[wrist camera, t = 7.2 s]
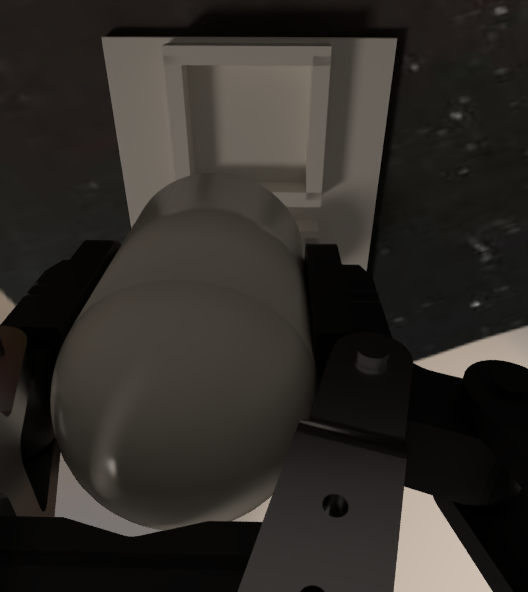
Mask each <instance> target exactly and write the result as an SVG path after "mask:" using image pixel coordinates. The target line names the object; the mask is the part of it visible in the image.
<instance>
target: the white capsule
mask: <svg viewBox="0 0 528 592" xmlns="http://www.w3.org/2000/svg"><path fill="white" fill-rule="evenodd" d="M317 392H318V383H317V370H316V365H315V359H314V350H313V341H312V331H311V322H310V312H309V303H308V294H307V284H306V275H305V265H304V253H303V245H302V239H301V235H300V232H299V229H298V226H297V224H296V222H295V220H294V218H293V216H292V215H291V213H290V212H289V210H288V209H287V207H286V206H285V205H284V204H283V203H282V202H281V201H280V199H278V198H277V197H276V196H275V195H274V194H273V193H271V192H270V191H269V190H267V189H266V188H264V187H263V186H261V185H259V184H257V183H255V182H253V181H251V180H249V179H246V178H243V177H240V176H236V175H231V174H226V173H201V174H195V175H190V176H187V177H184V178H181V179H178V180H176V181H174V182H172V183H170V184H168V185H167V186H165V187H164V188H163V189H161V190H160V191H158V192H157V193H156V194H155V195H154V196H153V197H152V198H151V199H150V201H149V202H148V203H147V204H146V206H145V207H144V209H143V210H142V212H141V214H140V215H139V217H138V218H137V220H136V222H135V223H134V225H133V227H132V228H131V230H130V232H129V233H128V235H127V237H126V238H125V240H124V242H123V243H122V245H121V247H120V248H119V250H118V252H117V253H116V255H115V256H114V258H113V260H112V261H111V263H110V265H109V266H108V268H107V270H106V271H105V273H104V275H103V276H102V278H101V280H100V281H99V283H98V285H97V286H96V288H95V290H94V291H93V293H92V294H91V296H90V298H89V299H88V301H87V303H86V304H85V306H84V308H83V309H82V311H81V313H80V314H79V316H78V318H77V319H76V321H75V323H74V324H73V326H72V328H71V329H70V331H69V333H68V335H67V337H66V339H65V341H64V343H63V345H62V347H61V349H60V352H59V355H58V358H57V361H56V365H55V368H54V372H53V378H52V385H51V399H50V402H51V416H52V424H53V429H54V433H55V437H56V440H57V443H58V446H59V449H60V451H61V453H62V456H63V458H64V461H65V462H66V464H67V465H68V467H69V469H70V470H71V472H72V474H73V475H74V476H75V478H76V480H77V481H78V482H79V484H80V485H81V486H82V487H83V488H84V489H85V490H86V491H87V492H88V493H89V494H90V495H91V496H92V497H93V498H94V499H95V500H96V501H97V502H98V503H100V504H101V505H102V506H104V507H105V508H106V509H108V510H109V511H111V512H113V513H114V514H116V515H118V516H120V517H122V518H124V519H126V520H128V521H130V522H133V523H136V524H138V525H142V526H145V527H149V528H153V529H157V530H169V529H174V528H178V527H183V526H187V525H192V524H197V523H201V522H206V521H233V520H235V519H237V518H239V517H241V516H243V515H245V514H247V513H249V512H251V511H252V510H254V509H255V508H256V507H258V506H259V505H261V504H262V503H263V502H265V501H266V500H267V499H269V498H270V497H271V496H272V495H273V492H274V489H275V487H276V484H277V481H278V478H279V476H280V473H281V470H282V467H283V464H284V462H285V459H286V456H287V453H288V451H289V448H290V445H291V442H292V439H293V437H294V434H295V431H296V429H297V426H298V424H299V422H300V420H301V419H302V418H305V419H308V418H309V415H310V412H311V409H312V406H313V404H314V401H315V398H316V395H317Z"/></svg>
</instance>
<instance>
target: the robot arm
mask: <svg viewBox="0 0 528 592" xmlns="http://www.w3.org/2000/svg"><path fill="white" fill-rule="evenodd" d="M120 247H121V244H120V242H119V241H113V240H86V241H84V242H83V243H82V245H81V246H80V247H79V249H78V250H77V251H76V252H75V254H74V255H73V256H72V258H71V259H70V260H63V261H61V262H59V263H58V264H56V265H54V266H53V267H51V268H49V269H48V270H46V271H45V272H44V273H43V274H42V275H41V277H40V278H39V279H38V280H37V281H36V283H35V286H32V287H31V289H30V290H29V291H28V292H27V293H26V296H24V297H23V298H22V300H21V301H20V302H19V303H18V304H17V306H16V307H15V308H14V309H13V310H12V312H11V313H10V314H9V315H8V316H7V318H6V319H5V320H4V321H3V322H2V324H1V325H0V592H393V590H394V580H395V570H396V560H397V551H398V540H399V531H400V520H401V511H402V500H403V491H404V486H405V487H408V488H411V489H414V490H418V491H421V492H424V493H427V494H431V495H433V497H434V500H435V502H436V503H437V505H438V507H439V508H440V510H441V512H442V513H443V515H444V516H445V518H446V519H447V521H448V522H449V524H450V526H451V527H452V529H453V530H454V532H455V533H456V535H457V537H458V538H459V540H460V541H461V543H462V544H463V546H464V547H465V549H466V550H467V552H468V554H469V555H470V557H471V558H472V560H473V561H474V563H475V564H476V566H477V568H478V569H479V571H480V572H481V574H482V575H483V577H484V578H485V580H486V582H487V583H488V585H489V586H490V588H491V589H492V591H493V592H528V369H527V368H525V367H523V366H520V365H517V364H514V363H511V362H506V361H499V360H486V361H480V362H476V363H475V364H472V365H471V366H469V367H468V368H467V370H466V371H465V374H464V377H463V378H458V377H454V376H449V375H446V374H441V373H437V372H434V371H430V370H427V369H425V368H422V367H420V366H418V365H416V364H414V363H413V358H412V355H411V353H410V352H409V350H408V349H407V348H406V347H405V346H404V345H403V344H402V343H400V342H399V341H397V340H395V339H393V338H392V336H391V333H390V330H389V327H388V324H387V321H386V318H385V314H384V311H383V308H382V305H381V302H380V299H379V296H378V293H377V292H376V287H375V284H374V281H373V278H372V276H371V275H370V274H369V273H368V272H367V271H366V270H364V269H363V268H362V267H361V266H360V265H345V264H342V263H341V259H340V255H339V250H338V246H337V244H307V243H306V244H305V254H304V265H305V275H306V284H307V294H308V303H309V312H310V322H311V331H312V341H313V350H314V359H315V365H316V370H317V383H318V392H317V395H316V398H315V401H314V404H313V406H312V409H311V412H310V415H309V418H308V419H305V418H302V419H301V420H300V422H299V424H298V426H297V429H296V431H295V434H294V437H293V439H292V442H291V445H290V448H289V451H288V453H287V456H286V459H285V462H284V464H283V467H282V470H281V473H280V476H279V478H278V481H277V484H276V487H275V489H274V492H273V495H272V498H271V501H270V503H269V506H268V509H267V512H266V514H265V517H264V520H263V522H236V521H235V522H234V521H206V522H201V523H197V524H192V525H187V526H183V527H178V528H174V529H169V530H164V531H160V532H155V533H151V534H146V535H142V536H135V537H128V536H123V535H120V534H117V533H113V532H110V531H107V530H103V529H100V528H97V527H93V526H90V525H87V524H83V523H81V522H77V521H74V520H71V519H67V518H64V517H54V515H55V505H56V494H57V483H58V472H59V462H60V452H61V451H60V449H59V446H58V443H57V440H56V437H55V433H54V429H53V424H52V416H51V402H50V399H51V385H52V378H53V372H54V368H55V365H56V361H57V358H58V355H59V352H60V349H61V347H62V345H63V343H64V341H65V339H66V337H67V335H68V333H69V331H70V329H71V328H72V326H73V324H74V323H75V321H76V319H77V318H78V316H79V314H80V313H81V311H82V309H83V308H84V306H85V304H86V303H87V301H88V299H89V298H90V296H91V294H92V293H93V291H94V290H95V288H96V286H97V285H98V283H99V281H100V280H101V278H102V276H103V275H104V273H105V271H106V270H107V268H108V266H109V265H110V263H111V261H112V260H113V258H114V256H115V255H116V253H117V252H118V250H119V248H120Z"/></svg>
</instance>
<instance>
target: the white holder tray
mask: <svg viewBox="0 0 528 592" xmlns="http://www.w3.org/2000/svg"><path fill="white" fill-rule="evenodd" d="M102 44H103V50H104V57H105V63H106V69H107V76H108V82H109V88H110V95H111V101H112V107H113V114H114V120H115V127H116V133H117V139H118V146H119V152H120V158H121V165H122V171H123V178H124V184H125V190H126V197H127V203H128V209H129V216H130V222H131V228H132V227H133V225H134V223H135V222H136V220H137V218H138V217H139V215H140V214H141V212H142V210H143V209H144V207H145V206H146V204H147V203H148V202H149V201H150V199H151V198H152V197H153V196H154V195H155V194H156V193H157V192H158V191H160V190H161V189H163V188H164V187H165V186H167V185H168V184H170V183H172V182H174V181H176V180H178V179H181V178H184V177H187V176H190V175H195V174H201V173H226V174H231V175H236V176H240V177H243V178H246V179H249V180H251V181H253V182H255V183H257V184H259V185H261V186H263V187H264V188H266V189H267V190H269V191H270V192H271V193H273V194H274V195H275V196H276V197H277V198H278V199H280V201H281V202H282V203H283V204H284V205H285V206H286V207H287V209H288V210H289V212H290V213H291V215H292V216H293V218H294V220H295V222H296V224H297V226H298V229H299V232H300V235H301V239H302V245H303V253H304V254H305V244H306V243H307V244H337V246H338V250H339V255H340V259H341V263H342V264H345V265H360V266H361V267H362V268H363V269H364V270H366V271H367V264H368V256H369V249H370V241H371V234H372V226H373V219H374V211H375V203H376V196H377V188H378V181H379V173H380V166H381V158H382V150H383V143H384V135H385V128H386V120H387V113H388V105H389V97H390V90H391V82H392V75H393V67H394V60H395V52H396V44H397V38H389V37H161V36H104V37H102Z"/></svg>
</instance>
